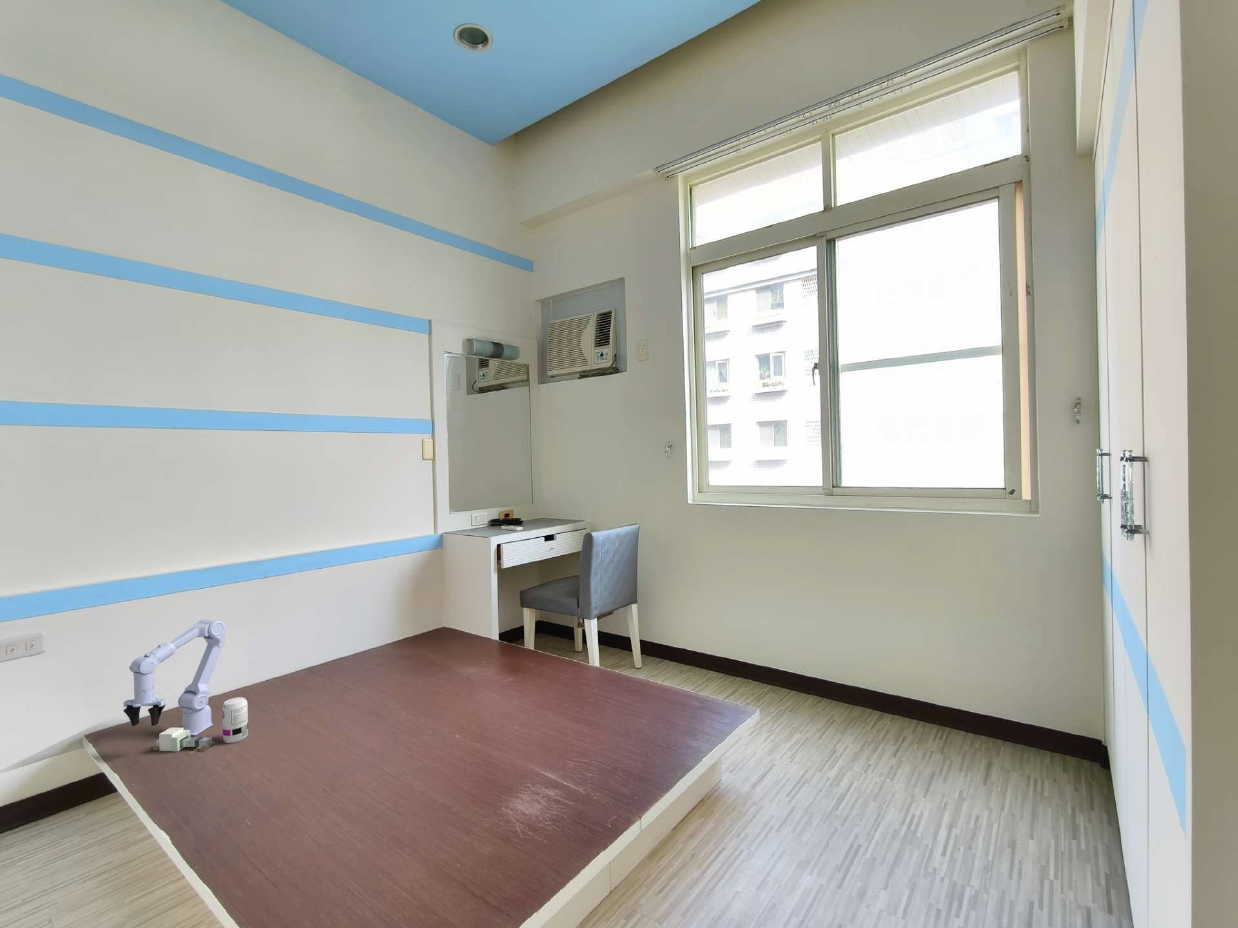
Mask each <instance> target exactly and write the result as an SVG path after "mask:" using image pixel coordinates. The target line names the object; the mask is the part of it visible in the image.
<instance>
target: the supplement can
mask: <svg viewBox="0 0 1238 928" xmlns="http://www.w3.org/2000/svg"><path fill="white" fill-rule="evenodd" d="M221 709H222V710H221V712H222V715H221V717H222V741H223V742H225V744H233V743H237V742H240V741H243V740H244V739H246V738H247V736H249V716H248V714H249V712H248V709H249V708H248V700H247V699H246V697H244V696H237V697H233V698H230V699H228V700H226V701H224V703H223V705H222V708H221Z"/></svg>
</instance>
